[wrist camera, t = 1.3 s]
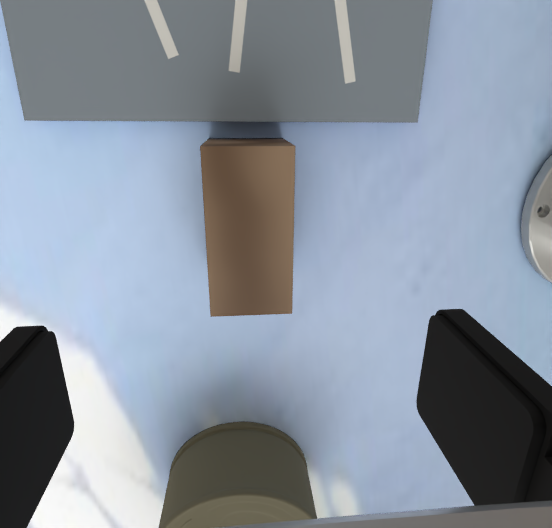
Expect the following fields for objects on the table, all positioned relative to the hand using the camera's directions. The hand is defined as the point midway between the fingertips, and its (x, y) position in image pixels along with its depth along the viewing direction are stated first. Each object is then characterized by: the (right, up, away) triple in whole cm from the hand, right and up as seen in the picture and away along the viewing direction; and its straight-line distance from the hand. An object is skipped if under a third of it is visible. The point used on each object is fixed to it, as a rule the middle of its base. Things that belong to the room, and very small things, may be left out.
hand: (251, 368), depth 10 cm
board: (-2, +17, +12) cm, 21 cm away
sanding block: (-1, +6, +16) cm, 17 cm away
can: (-3, -15, +24) cm, 29 cm away
